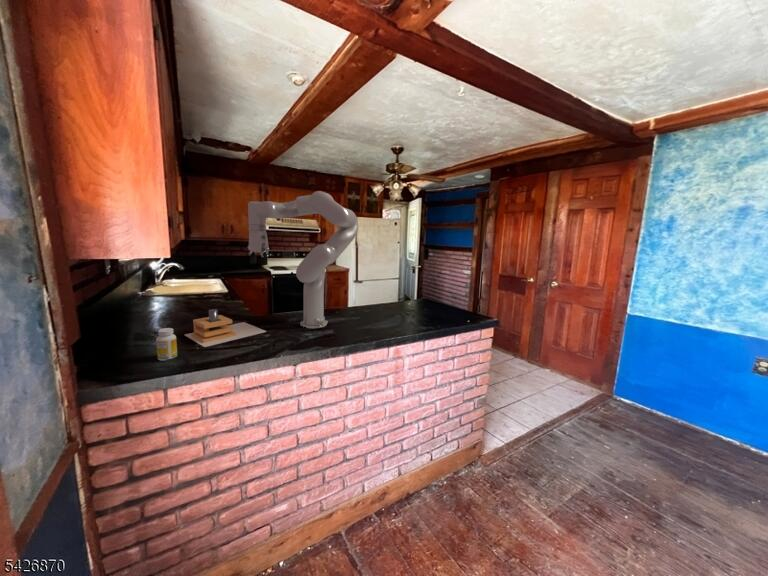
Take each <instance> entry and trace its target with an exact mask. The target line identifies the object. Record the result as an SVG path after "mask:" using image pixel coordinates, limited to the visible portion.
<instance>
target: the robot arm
mask: <svg viewBox="0 0 768 576" xmlns="http://www.w3.org/2000/svg"><path fill="white" fill-rule="evenodd" d="M247 203H248V204H247V214H248V217H247V218H248V232H249V233H248V245H247V250H248V255H249V264H257V255H256V254H259V255H260V256H261V257H260V266H268V257H269V252H270V247H269V240H268V239H269V238H268V233H267V228H266V227H267V224H266V223H267V222H266V221H267V220H266V219H267V218H268V219H276V220H279V219H281V220H282V219H289V218H296V217H301V216H303V217H304V216H309V215H315V214H316V215H317V214H318V215H320V216H322V217H323V218H324V219H325V220H326V221H328V222H329V223H330V224H332V225H334V226H336V227H338V229H337V230H336V231H335V232H334V233H333V234H332V235H331V237H329V239H328V240H327V241H326V242H325V243H322V244H319V245H316V246H315V247H314V248H312V249H311V250H310V252H309V253H307V255H306V256H305V257H304V258H303V259H302V261H301V262H300V263H299V264H298V266H297V268H296V269H295V275H296V278H297V279H298V280H299V282H301V283H303V320H302V321H300V327H302V326H303V327H302V328H304V327H306V328H305V329H320V328H324V327H326V326H327V324H328V322H329V321H328V320H326V319H325V318H326V317H325V316H324V314H325V313H324V312H325V311H324V307H325V306H324V302H325V301H324V300H325V299H324V297H325V295H324V294H325V278H326V268H327V267H328V266H329V265H331V264H334V262H336V261H337V259H338V258H339V257H340V256H341V254H342V253H343V252H345V250H346V249H347V248H348V246H350V244H351V243H352V242H353V241H354V239H355V238H356V236H357V234H358V231H359V220H358V217H357V215H356V213H355V212H354V211H353V210H352V209H349V208H346V207H344V206H342V204H339V203H338V202H336V201H335V200H334V198H333V196H332V195H331V194H330V193H327V192H325V191H322V190H318V191H317V190H316V191H314V192H313V193H312V194H308V195H301V196H297V197H296V198H295V199H294V200H292V201H286V202H277V201H270V200H267V201H249V202H247Z"/></svg>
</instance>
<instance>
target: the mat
mask: <svg viewBox="0 0 768 576" xmlns="http://www.w3.org/2000/svg"><path fill="white" fill-rule="evenodd" d="M227 325H228V326H230V327H232V328H233V332H235V333H236V336H231V337H227V338H223V339H219V340H214V341H210V342H206V343H203V342H201V341H199V340H198V339H196V338H194V337H192V336H191V332H190V333H185V334H184V336H185V337H187V338H188V339H190V340H192V341H194V342H195V343H197V344H198V345H200V346H202V347H204V348H206V347H211V346H215V345H219V344H223V343H227V342H230V341H235V340H238V339H243V338H247V337H252V336H256V335H259V334H264V333H266V332H267V331H266V330H265V329H262V328H261V327H260V328H259V327H257V326H255V325H253V324H249V323H247V322H244V321H243V322H238V323H232V324H227Z"/></svg>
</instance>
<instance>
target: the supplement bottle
mask: <svg viewBox="0 0 768 576" xmlns="http://www.w3.org/2000/svg"><path fill="white" fill-rule="evenodd" d="M157 335H158V336H157V337H156V338H155V340H156V341H155V342H156V343H155V344H156V352H157V356H156V357H157V360H159V361H163V362H165V361H167V360H171V359H175V358H176V357H177V356H178V345H177V336H176V334H174V328H171V327H167V328H166V327H165V328H160V329H158V331H157Z"/></svg>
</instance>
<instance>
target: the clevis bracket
mask: <svg viewBox="0 0 768 576" xmlns="http://www.w3.org/2000/svg"><path fill="white" fill-rule="evenodd" d="M192 322H193V323H192V324H193V332H192V333H191V332H190V333H191V336H192V337H194V338H196V339H198V340H199V341H201V342H203V343H206V342H210V341H214V340H219V339H223V338H227V337H231V336H236V333H235V332H233V328H232V327H230V326H228V325H232V324H233V319H232V318H229V317H227V316H224V315H222V314H218V321H216V322H211V323H210V322H209V316H207V317H201V318H196V319H193V320H192ZM217 326H218V329H217V330H212V331H210V328H212V327H217Z"/></svg>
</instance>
